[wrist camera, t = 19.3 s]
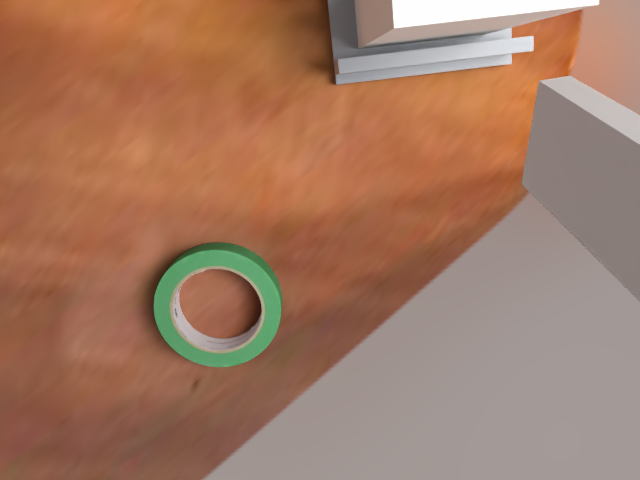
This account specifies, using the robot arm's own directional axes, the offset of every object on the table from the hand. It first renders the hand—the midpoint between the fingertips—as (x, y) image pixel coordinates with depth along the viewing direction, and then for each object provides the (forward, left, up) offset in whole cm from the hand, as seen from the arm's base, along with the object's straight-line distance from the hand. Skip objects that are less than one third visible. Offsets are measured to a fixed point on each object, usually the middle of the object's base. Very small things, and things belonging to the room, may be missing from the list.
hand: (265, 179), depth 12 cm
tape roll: (-15, -10, -33) cm, 37 cm away
